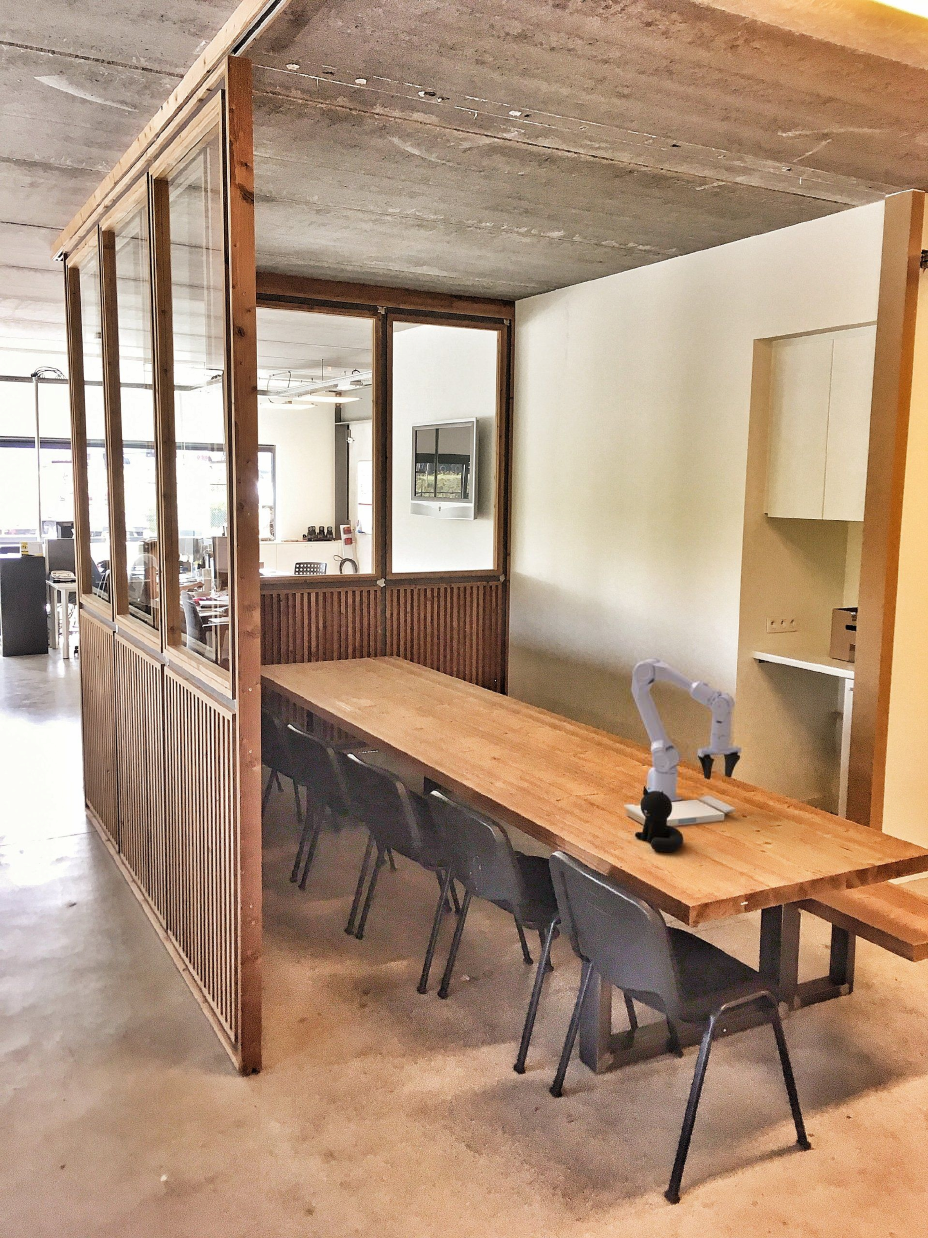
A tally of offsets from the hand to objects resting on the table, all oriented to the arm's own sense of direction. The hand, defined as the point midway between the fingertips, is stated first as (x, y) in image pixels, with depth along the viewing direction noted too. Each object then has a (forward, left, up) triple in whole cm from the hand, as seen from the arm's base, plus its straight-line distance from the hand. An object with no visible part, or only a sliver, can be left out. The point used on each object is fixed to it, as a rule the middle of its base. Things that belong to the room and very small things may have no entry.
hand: (717, 777), depth 309 cm
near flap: (+4, -29, -7) cm, 30 cm away
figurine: (+23, -35, -10) cm, 42 cm away
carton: (+4, -16, -9) cm, 19 cm away
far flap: (+4, -3, -7) cm, 8 cm away
